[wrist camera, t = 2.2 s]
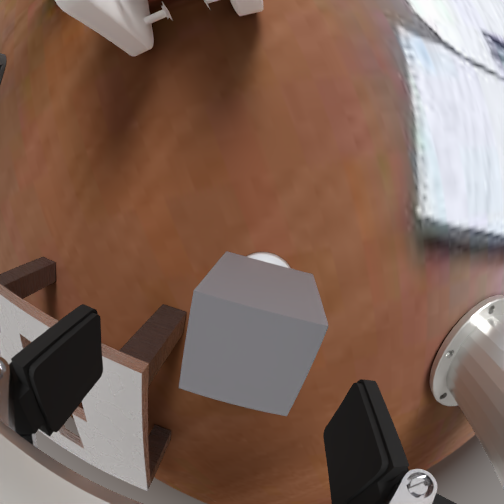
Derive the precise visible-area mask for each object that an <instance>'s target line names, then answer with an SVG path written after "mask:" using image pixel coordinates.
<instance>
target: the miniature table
mask: <svg viewBox="0 0 504 504" xmlns="http://www.w3.org/2000/svg"><path fill="white" fill-rule="evenodd" d="M54 282H56V262H54V261H52V260H49V259H47V258H45V257H41V258H39V259H36V260H33V261H31V262H28V263H26V264H24V265H21V266H19V267H16V268H14V269H11V270H9V271H7V272H4V273H2V274H0V356H1V357H2V358H4V359H5V360H6V361H7V362H8V364H10V363H11V362H12V360H11V358H12V357H14V356H15V355H16V354H17V353H19V352H20V351H21V350H22V349H24V348H25V347H26V346H27V345H29V344H30V341H31V342H32V341H34V340H35V339H36V338H37V337H39V336H40V335H41V334H43V333H44V332H45V331H47V330H48V329H49V328H50V327H52V326H53V325H54V324H56V323H57V322H58V320H56V319H54V318H53V317H51V316H49V315H47V314H46V313H44V312H42V311H41V310H39V309H37V308H36V307H34V306H33V305H31V304H29V303H28V302H26V301H25V300H23V298H25V297H27V296H29V295H31V294H33V293H35V292H37V291H38V290H40V289H42V288H44V287H46V286H48V285H50V284H52V283H54ZM185 319H186V312H185V311H182V310H179V309H176V308H173V307H170V306H167V305H164V304H163V305H162V306H161V307H160V308H159V309H158V310H157V311H156V312H155V313H154V314H153V315H152V316H151V317H150V318H149V319H148V320H147V321H146V323H145V324H144V325H143V326H142V327H141V328H140V329H139V330H138V331H137V332H136V333H135V334H134V335H133V336H132V337H131V338H130V340H129V341H128V342H127V343H126V344H125V345H124V346H123V347H122V348H121V349H120V350H119V351H118V350H116V349H113V348H111V347H109V346H107V345H105V344H103V343H101V347H102V361H103V373H102V376H101V377H100V379H99V380H98V381H97V383H96V384H95V385H94V386H93V387H92V389H91V390H90V391H89V393H88V394H87V395H86V396H85V398H84V399H83V400H82V405H83V409H84V410H83V409H82V408H80V407H78V408H77V409H76V410H75V411H74V412H73V417H74V421H75V424H76V427H77V430H78V432H79V435H80V437H78V436H77V435H75V434H73V433H72V432H70V431H69V430H67V429H66V428H65V426H64V425H63V426H62V427H61V429H60V430H59V431H58V432H53V433H52V435H51V436H48V435H47V434H45V433H44V432H42V431H41V430H39V429H38V430H39V431H40V432H42V433H43V434H45V435H46V436H47V437H49V438H50V439H51V440H53V441H54V442H56V443H57V444H59V445H60V446H62V447H63V448H65V449H66V450H68V451H69V452H71V453H73V454H74V455H76V456H77V457H79V458H81V459H83V460H84V461H86V462H88V463H90V464H91V465H93V466H95V467H97V468H99V469H101V470H103V471H104V472H107V473H109V474H110V475H112V476H114V477H117V478H119V479H121V480H123V481H125V482H128V483H130V484H132V485H135V486H137V487H139V488H142V489H144V490H147V491H148V489H149V487H150V485H151V483H152V480H153V478H154V476H155V474H156V471H157V469H158V467H159V465H160V462H161V460H162V458H163V456H164V453H165V451H166V449H167V447H168V444H169V442H170V440H171V430H168V429H165V428H162V427H160V426H157V425H154V427H153V428H152V430H151V432H150V434H149V436H148V386H149V385H150V383H151V382H152V380H153V379H154V377H155V375H156V374H157V372H158V371H159V369H160V368H161V366H162V365H163V363H164V362H165V360H166V359H167V357H168V355H169V354H170V352H171V351H172V349H173V348H174V346H175V345H176V343H177V342H178V340H179V339H180V337H181V336H182V334H183V331H184V325H185Z"/></svg>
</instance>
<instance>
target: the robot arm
mask: <svg viewBox="0 0 504 504" xmlns="http://www.w3.org/2000/svg"><path fill="white" fill-rule="evenodd" d="M11 360H12V362H11V363H10V364H8V362H7V361H6V360H5V359H4V358H2V357H0V504H142V503H139V502H137V501H134V500H132V499H129V498H127V497H124V496H122V495H120V494H117V493H115V492H113V491H111V490H109V489H107V488H104V487H102V486H100V485H98V484H96V483H94V482H92V481H90V480H89V479H87V478H84V477H83V476H81V475H79V474H77V473H76V472H74V471H72V470H71V469H69V468H67V467H65V466H64V465H62V464H61V463H59V462H57V461H56V460H54V459H52V458H51V457H50V456H48V455H47V454H45V453H44V452H42V451H41V450H39V449H38V448H37V442H36V435H35V433H36V432H37V430H38V429H39V430H41V431H42V432H44V433H45V434H47V435H48V436H51V435H52V433H53V432H58V431H59V430H60V429H61V427H62V426H63V425H64V423H65V422H66V421H67V419H68V418H69V417H70V415H71V414H72V413H73V412H74V410H75V409H76V408H77V406H78V405H79V404H80V403H81V401H82V400H83V399H84V398H85V396H86V395H87V394H88V393H89V391H90V390H91V389H92V387H93V386H94V385H95V384H96V383H97V381H98V380H99V379H100V377H101V376H102V373H103V361H102V347H101V326H100V316H99V315H98V314H97V311H96V310H95V309H93V308H91V307H88V306H86V305H83V304H82V305H80V306H79V307H77V308H76V309H75V310H73V311H72V312H71V313H69V314H68V315H66V316H65V317H64V318H62V319H61V320H60V321H58V322H57V323H56V324H54V325H53V326H52V327H50V328H49V329H48V330H47V331H45V332H44V333H43V334H41V335H40V336H39V337H37V338H36V339H35V340H34V341H32V342H31V343H30V344H29V345H27V346H26V347H25V348H24V349H22V350H21V351H20V352H19V353H17V354H16V355H15V356H14V357H12V358H11ZM430 389H431V391H432V393H433V395H434V397H435V399H436V400H437V401H438V402H439V403H441V404H442V405H445V406H458V405H459V407H460V409H461V410H462V412H463V414H464V415H465V417H466V418H467V420H468V422H469V424H470V425H471V427H472V429H473V430H474V432H475V434H476V436H477V437H478V439H479V441H480V443H481V445H482V447H483V448H484V450H485V452H486V454H487V456H488V458H489V460H490V462H491V464H492V466H493V468H494V470H495V472H496V474H497V476H498V478H499V480H500V482H501V484H502V486H503V488H504V295H495V296H492V297H489V298H487V299H485V300H483V301H481V302H480V303H478V304H477V305H476V306H474V307H473V308H472V309H470V310H469V311H468V312H467V313H466V314H465V315H464V316H463V317H462V318H461V319H460V320H459V322H458V323H457V324H456V325H455V326H454V327H453V329H452V330H451V332H450V333H449V334H448V336H447V337H446V339H445V340H444V342H443V344H442V346H441V347H440V349H439V351H438V353H437V355H436V357H435V360H434V362H433V365H432V369H431V372H430ZM324 444H325V451H326V458H327V466H328V474H329V483H330V491H331V500H332V504H456V503H454V502H452V501H450V500H448V499H446V498H444V497H442V496H441V495H439V494H437V493H436V491H437V483H436V480H435V478H434V477H433V476H432V475H431V474H430V473H429V472H427V471H425V470H422V469H413V470H410V471H409V470H408V466H409V464H408V461H407V458H406V455H405V453H404V450H403V447H402V445H401V442H400V439H399V437H398V434H397V432H396V429H395V427H394V424H393V422H392V419H391V417H390V414H389V412H388V409H387V407H386V404H385V402H384V400H383V397H382V395H381V393H380V390H379V388H378V386H377V383H376V382H375V381H371V380H359V381H358V382H357V383H354V384H353V385H352V387H351V388H350V390H349V392H348V393H347V395H346V397H345V398H344V400H343V402H342V403H341V405H340V406H339V408H338V410H337V411H336V413H335V414H334V416H333V417H332V419H331V420H330V422H329V423H328V425H327V426H326V428H325V430H324Z"/></svg>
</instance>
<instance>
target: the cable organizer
mask: <svg viewBox="0 0 504 504" xmlns="http://www.w3.org/2000/svg"><path fill="white" fill-rule="evenodd" d="M55 1H56V3H57V5H58V6H59V7H60V8H61V9H62V10H63V11H64V12H66V13H67V14H69V15H70V16H72V17H74V18H75V19H77V20H78V21H80V22H82V23H83V24H85V25H86V26H88V27H89V28H91V29H93V30H94V31H96V32H97V33H99V34H100V35H102V36H103V37H105V38H106V39H108V40H109V41H111V42H112V43H113V44H115V45H116V46H118V47H119V48H121V49H122V50H123V51H125V52H126V53H128V54H129V55H131V56H133V57H134V56H137V55H139V54H141V53H143V52H146V51H148V50H150V49H152V47H153V43H154V37H153V30H152V24H151V23H154V22H156V21H158V20H160V19H163V18H165V17H167V18H168V19H169V18H170V19H171V20H172V18H171V15H170V13H169V10H168V9H167V8H166V6H165V5H164V3H163V2H162V4H163V6H161V7H162V10H160V11H158V12H155V13H153V14H151V15H150V11H149V5H148V0H55ZM215 1H219V0H204V2H205V3H206V5H207V6H208V8H209V9H210V7H209V5H208V4H209V3H212V2H215ZM230 2H231V4H232V6H233V8H234V9H235V11H236V13H237V14H238V15H239V16H243V15H248V14H252V13H257V12H261V11H263V0H230ZM172 21H173V20H172Z"/></svg>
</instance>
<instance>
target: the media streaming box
mask: <svg viewBox="0 0 504 504" xmlns="http://www.w3.org/2000/svg"><path fill="white" fill-rule="evenodd" d="M5 66H6V56H5V55H4V54H1V53H0V83H1V80H2V76H3V73H4V70H5Z"/></svg>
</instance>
